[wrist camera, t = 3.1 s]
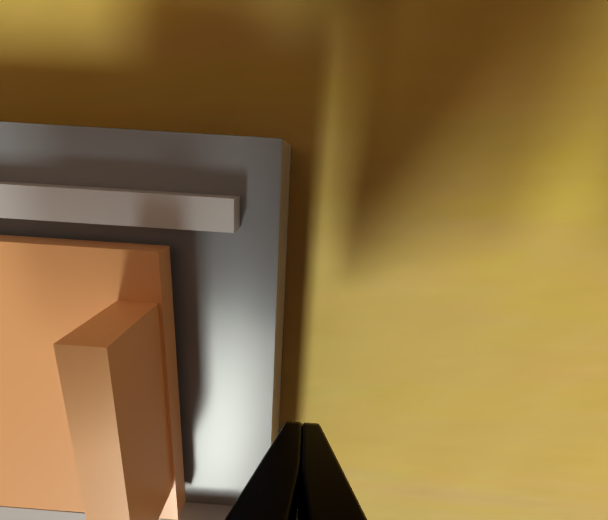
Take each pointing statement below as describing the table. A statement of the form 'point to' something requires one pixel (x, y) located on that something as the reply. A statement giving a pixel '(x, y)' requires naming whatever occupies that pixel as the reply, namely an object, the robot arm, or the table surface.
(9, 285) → the shutter
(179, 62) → the table surface
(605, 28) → the table surface
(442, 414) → the table surface
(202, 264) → the socket block
